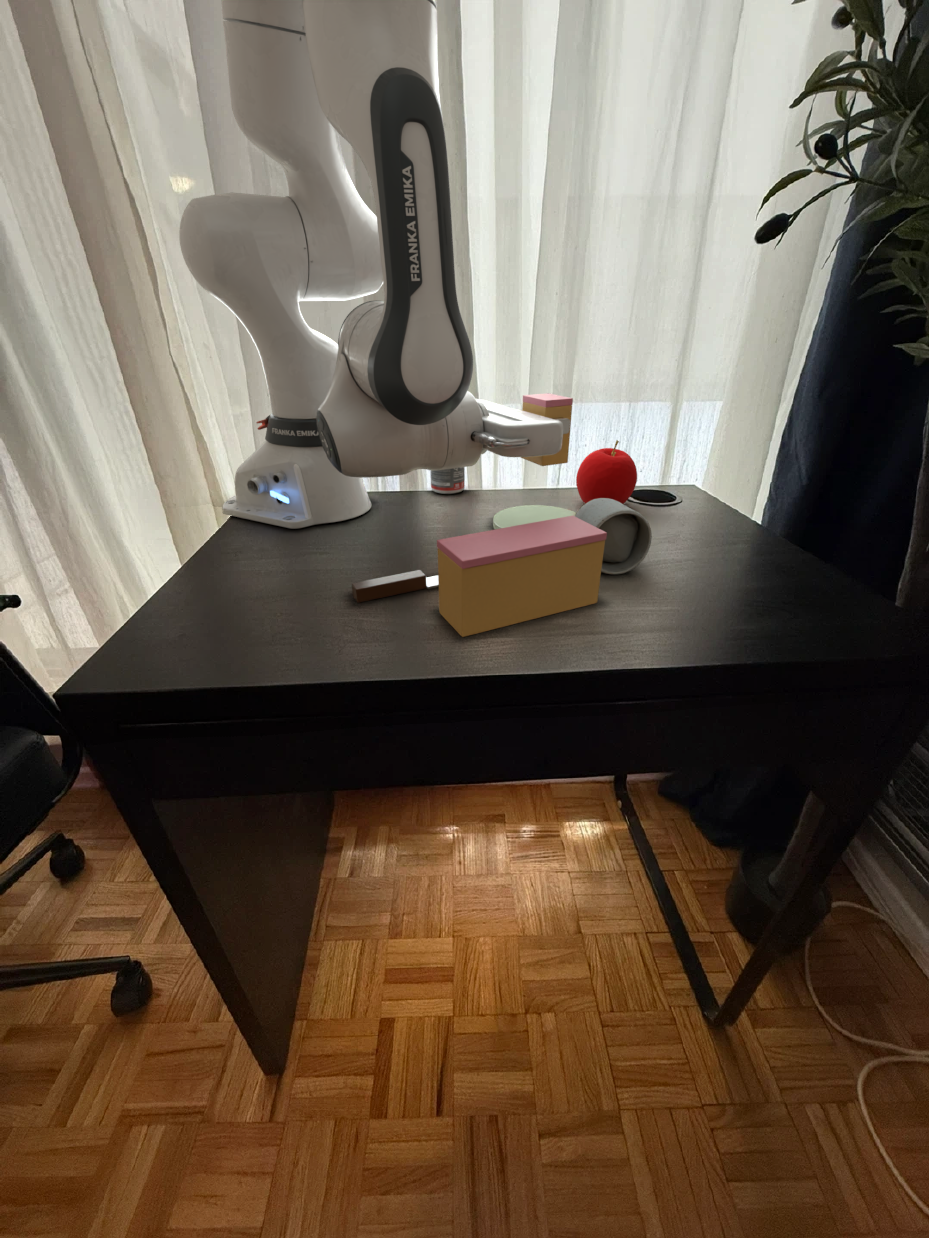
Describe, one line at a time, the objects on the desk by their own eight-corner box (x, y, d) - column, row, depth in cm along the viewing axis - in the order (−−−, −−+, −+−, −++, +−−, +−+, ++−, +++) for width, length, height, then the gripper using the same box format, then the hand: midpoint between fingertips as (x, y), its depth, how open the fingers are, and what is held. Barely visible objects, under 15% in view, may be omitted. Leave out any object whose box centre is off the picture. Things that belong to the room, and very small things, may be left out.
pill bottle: (460, 495, 93) (460, 433, 89) (427, 493, 94) (425, 432, 90) (467, 486, 98) (467, 426, 93) (435, 484, 99) (434, 425, 94)
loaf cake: (462, 638, 54) (462, 561, 50) (438, 612, 59) (436, 539, 55) (598, 603, 60) (607, 532, 56) (566, 582, 65) (573, 515, 61)
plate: (482, 537, 77) (482, 530, 77) (504, 507, 88) (505, 501, 88) (578, 547, 74) (579, 540, 73) (589, 515, 85) (590, 509, 84)
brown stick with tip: (358, 604, 60) (356, 590, 60) (352, 595, 62) (350, 581, 61) (520, 569, 68) (521, 557, 67) (510, 562, 70) (510, 550, 69)
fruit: (627, 518, 84) (637, 449, 79) (567, 510, 87) (573, 443, 82) (637, 500, 91) (647, 436, 86) (581, 494, 94) (588, 431, 89)
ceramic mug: (619, 546, 74) (627, 488, 70) (647, 572, 67) (657, 509, 63) (541, 553, 73) (544, 494, 69) (561, 580, 65) (566, 516, 62)
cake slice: (542, 466, 73) (546, 400, 69) (520, 457, 77) (522, 395, 74) (567, 463, 75) (573, 398, 71) (544, 454, 79) (548, 393, 75)
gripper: (497, 415, 59) (604, 406, 64) (422, 392, 75) (513, 386, 80) (496, 476, 62) (598, 462, 67) (424, 441, 78) (511, 432, 83)
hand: (551, 420), depth 74 cm, fingers closed on cake slice, 5 cm apart
